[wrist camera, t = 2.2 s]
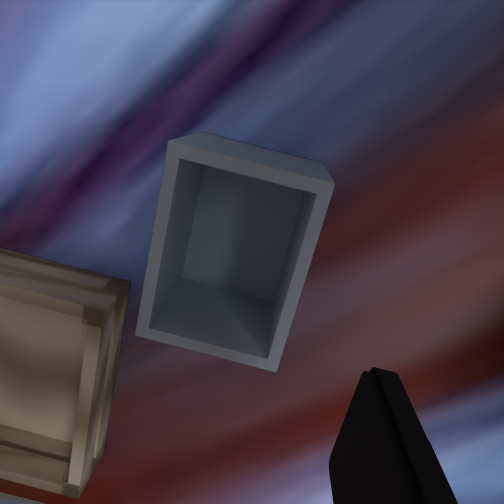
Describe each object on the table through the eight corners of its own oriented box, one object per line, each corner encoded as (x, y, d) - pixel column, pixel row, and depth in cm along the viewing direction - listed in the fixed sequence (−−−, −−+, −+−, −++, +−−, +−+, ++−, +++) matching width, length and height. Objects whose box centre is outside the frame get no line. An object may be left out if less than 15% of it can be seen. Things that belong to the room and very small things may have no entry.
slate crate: (202, 131, 20) (168, 140, 15) (322, 163, 20) (335, 183, 15) (173, 279, 23) (135, 335, 17) (279, 307, 23) (276, 372, 17)
